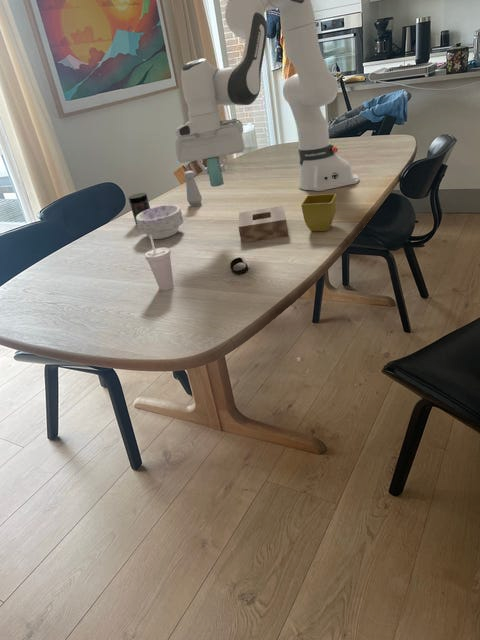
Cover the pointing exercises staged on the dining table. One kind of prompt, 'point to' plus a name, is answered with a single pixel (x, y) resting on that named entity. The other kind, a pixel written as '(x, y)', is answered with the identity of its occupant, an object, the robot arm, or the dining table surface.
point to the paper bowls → (160, 221)
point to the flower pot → (319, 211)
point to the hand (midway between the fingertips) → (215, 172)
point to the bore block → (262, 224)
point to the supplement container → (138, 203)
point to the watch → (236, 261)
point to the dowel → (214, 171)
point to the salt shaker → (192, 189)
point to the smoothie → (160, 266)
